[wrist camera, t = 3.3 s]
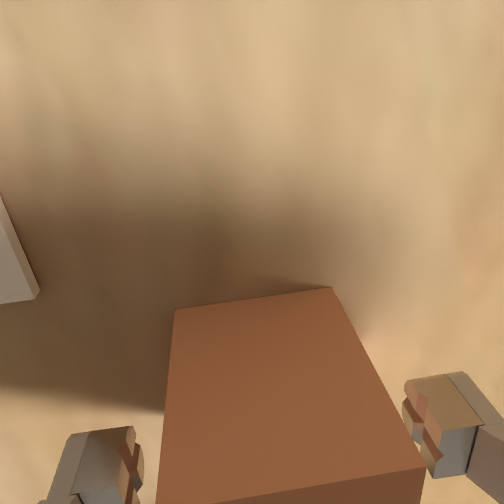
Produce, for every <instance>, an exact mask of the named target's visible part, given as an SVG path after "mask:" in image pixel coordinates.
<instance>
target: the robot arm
mask: <svg viewBox="0 0 504 504" xmlns="http://www.w3.org/2000/svg"><path fill="white" fill-rule="evenodd" d="M404 392H405V394H406V395H407V398H406V399H405V400H404V401H403V402H402V415H403V421H404V424H405V426H406V428H407V430H408V432H409V434H410V436H411V437H412V439H413V440H414V441H415V442H417V443H418V444H420V445H421V449H420V454H421V456H422V458H423V460H424V462H425V464H426V466H427V469H428V471H429V473H430V475H431V477H432V478H433V479H438V478H445V477H452V476H458V475H465V474H467V475H466V477H468V478H469V479H470V480H471V481H472V482H474V483H475V484H476V485H477V486H479V487H480V488H481V489H482V490H484V491H485V492H486V493H487V494H489V495H490V496H491V497H492V498H493V499H495V500H496V501H497V502H498V503H500V504H504V419H503V417H502V416H501V415H500V414H499V413H498V411H497V410H496V409H495V408H494V406H493V405H492V404H491V403H490V402H489V400H488V399H487V398H486V397H485V395H484V394H483V393H482V392H481V391H480V389H479V388H478V387H477V386H476V384H475V383H474V382H473V381H472V380H471V378H470V377H469V376H468V375H467V374H466V373H465V372H463V371H461V372H455V373H448V374H443V375H442V374H440V375H434V376H429V377H423V378H417V379H412V380H407V381H406V383H405V386H404ZM135 439H136V432H135V430H134V427H133V426H125V427H117V428H110V429H102V430H95V431H89V432H82V433H75V434H71V435H70V437H69V438H68V440H67V441H66V444H65V447H64V450H63V453H62V456H61V459H60V462H59V464H58V467H57V470H56V473H55V476H54V479H53V482H52V485H51V488H50V491H49V493H48V496H47V499H46V500H41V501H39V502H38V504H140V500H139V498H138V495H137V492H138V490H139V489H140V488H141V486H142V485H143V478H144V457H143V452H142V449H141V446H140V445H139V444H137V443H135Z"/></svg>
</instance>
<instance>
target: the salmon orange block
mask: <svg viewBox="0 0 504 504" xmlns="http://www.w3.org/2000/svg"><path fill="white" fill-rule="evenodd" d="M426 468H427V466H426V464H425V462H424V460H423V458H422V456H421V454H420V453H419V451H418V449H417V447H416V445H415V443H414V441H413V439H412V437H411V436H410V434H409V432H408V430H407V428H406V426H405V424H404V422H403V421H402V419H401V417H400V415H399V413H398V411H397V409H396V407H395V406H394V404H393V402H392V400H391V398H390V396H389V394H388V392H387V390H386V389H385V387H384V385H383V383H382V381H381V379H380V377H379V375H378V374H377V372H376V370H375V368H374V366H373V364H372V362H371V360H370V359H369V357H368V355H367V353H366V351H365V349H364V347H363V345H362V343H361V342H360V340H359V338H358V336H357V334H356V332H355V330H354V328H353V327H352V325H351V323H350V321H349V319H348V317H347V315H346V313H345V311H344V310H343V308H342V306H341V304H340V302H339V300H338V298H337V296H336V295H335V293H334V291H333V289H332V287H327V288H320V289H313V290H307V291H300V292H293V293H286V294H279V295H272V296H265V297H258V298H251V299H245V300H238V301H231V302H224V303H217V304H210V305H203V306H196V307H189V308H183V309H176V310H175V311H174V321H173V331H172V341H171V352H170V362H169V372H168V382H167V392H166V402H165V412H164V422H163V433H162V443H161V453H160V463H159V473H158V483H157V493H156V504H420V500H421V494H422V489H423V484H424V479H425V473H426Z"/></svg>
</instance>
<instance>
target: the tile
mask: <svg viewBox="0 0 504 504" xmlns="http://www.w3.org/2000/svg"><path fill="white" fill-rule="evenodd" d="M39 292H40V288H39V286H38V284H37V281H36V279H35V276H34V274H33V272H32V269H31V267H30V265H29V262H28V260H27V258H26V255H25V253H24V251H23V248H22V246H21V244H20V241H19V239H18V237H17V234H16V232H15V230H14V227H13V225H12V223H11V220H10V218H9V215H8V213H7V211H6V208H5V206H4V204H3V201H2V199H1V197H0V304H5V303H12V302H19V301H27V300H34V299H35V298H36V297H37V295H38V294H39Z"/></svg>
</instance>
